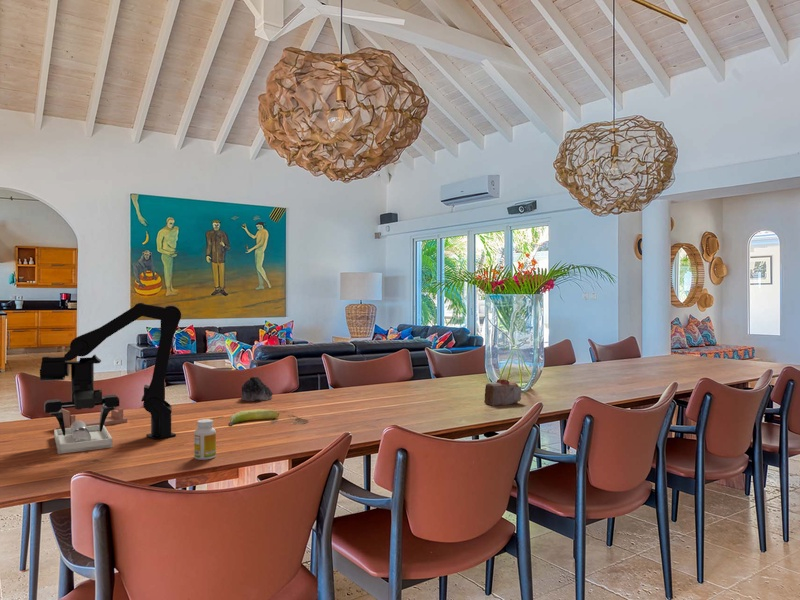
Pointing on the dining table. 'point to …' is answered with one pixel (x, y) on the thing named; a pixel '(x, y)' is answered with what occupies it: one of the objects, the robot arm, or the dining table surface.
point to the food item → (502, 393)
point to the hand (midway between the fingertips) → (82, 433)
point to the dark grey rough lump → (255, 390)
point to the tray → (97, 441)
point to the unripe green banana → (259, 416)
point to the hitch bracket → (114, 419)
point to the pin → (80, 431)
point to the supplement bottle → (205, 440)
